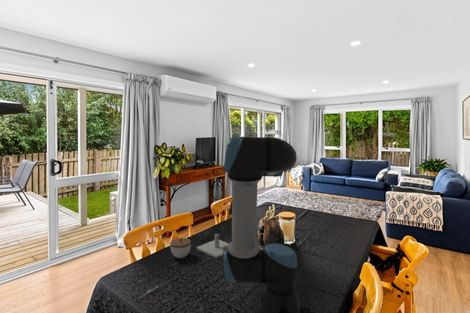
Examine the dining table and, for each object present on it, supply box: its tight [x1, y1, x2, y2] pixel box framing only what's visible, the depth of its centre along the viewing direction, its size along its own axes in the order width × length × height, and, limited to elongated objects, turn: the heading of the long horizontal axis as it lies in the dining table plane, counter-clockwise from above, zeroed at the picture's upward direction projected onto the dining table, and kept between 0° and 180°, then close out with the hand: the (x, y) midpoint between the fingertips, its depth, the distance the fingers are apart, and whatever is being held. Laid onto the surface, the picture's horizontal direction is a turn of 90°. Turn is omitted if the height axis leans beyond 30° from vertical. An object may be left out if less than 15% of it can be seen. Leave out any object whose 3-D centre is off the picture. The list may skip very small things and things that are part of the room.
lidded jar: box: [169, 237, 192, 259], centre depth 140 cm, size 11×11×9 cm
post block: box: [196, 233, 230, 259], centre depth 149 cm, size 16×16×8 cm
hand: (242, 224), depth 138 cm, fingers open, 13 cm apart
